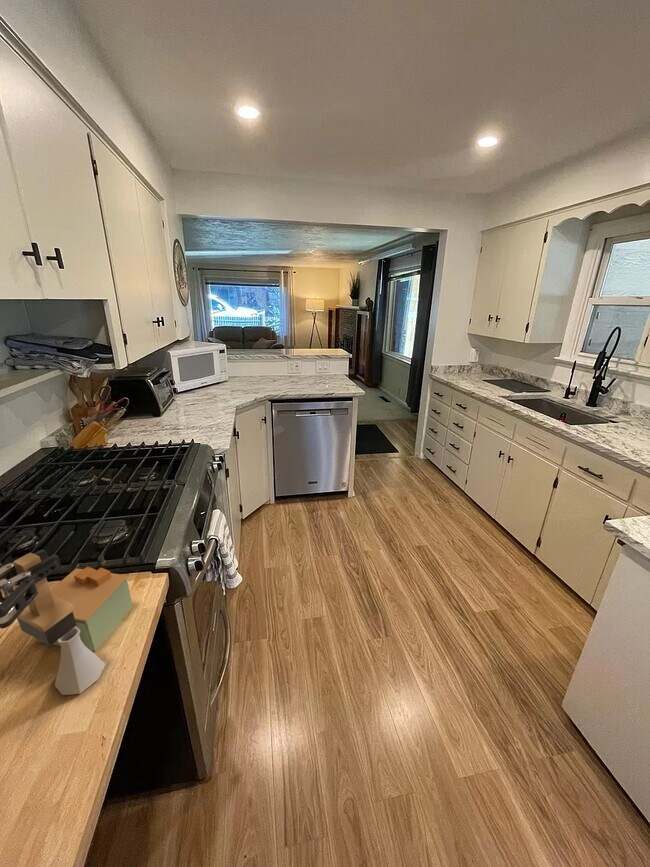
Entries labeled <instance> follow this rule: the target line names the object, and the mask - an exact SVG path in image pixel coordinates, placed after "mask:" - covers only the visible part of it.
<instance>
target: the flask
mask: <svg viewBox="0 0 650 867" xmlns="http://www.w3.org/2000/svg"><path fill="white" fill-rule="evenodd" d="M79 633H80V630H79V629H78V628H77V627H74V628H73V629H71V630H70V631H69V632H67V633H66V634H65V635H64V636H62V637H61V638H60V639H58V640H57V642H58V643H59V644H60V646H59V647H60V658H59V659H60V660H59V664H58V670H57V673H56V678H55V681H54V687H55V689H57V691H58V692H59V693H60V695H61V696H67V695H69V696H71V695H80V694H82V693H83V692H84V691H85V690H87V689H88V688H89V687H91V686H92V685H93V684H94V683H95V682H97V681H98V680H99V679H100V677H101V674H102V672H103V671H104V669H105V667H106V663H105V661H103V660H102V659H101V658H100V657H99V656H98V655H97V654H95V652H92V651H90V650H89V649H88V648H87V647H86V646H85V645H84V644H83V642H82V641H81V639H80V636H79Z"/></svg>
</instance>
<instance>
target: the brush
mask: <svg viewBox="0 0 650 867" xmlns="http://www.w3.org/2000/svg"><path fill="white" fill-rule="evenodd" d="M40 562H41V560H40V557H39V556H37V555H35V554H33V553H32V552H29V553H27V554H25V555H23V556H21V557H19V558H17V559H16V560H14V561H12V563H14V566H15V569H16V572H17V575H18V574H20V573H22V572H24V571H28V569H29V568H31V567H33V566H35V565H36V564H38V563H40ZM21 583H22V582H20V583H19V584H21ZM36 588H37V591H38V594H37V596H36V597H35V598H34V599H33V600H32V601H31V602H30V603H29V605H28V606H27V607H26V608H25V609H24V610H23V611H22V613H21V614H20V615H19V616H18V617H17V618H16V620H17V622H18V625H19V627H20V630H21V631H22V632H24V633H25V634H27V635H29V636H31V637H33V638H35V639H36V640H38V641H39V642H40V641H41V642H43V643H42V644H45V645H46V646H48V647H51V646H52V644H53V643H55V642H56V641H57V640H58V639H60V638H61V637H62V636H64V635H65V634H66V633H67V632H69V631H70V630H71V629H73V628H74V627H75V626H76V625H77V624H76V621H75V618H74V614H73V611H74V607H73V605H72V604H70V603H68V602H66V601H64V600H62V599H59V598H57V597H55V596H53V595H52V594H51V591H50V590H51V588H50V584H49V582H48V579H47V577H45V578H44V579H42V580H40V581H39V582H37V583H36ZM25 594H26V593H24V595H25ZM41 642H40V643H41Z"/></svg>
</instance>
